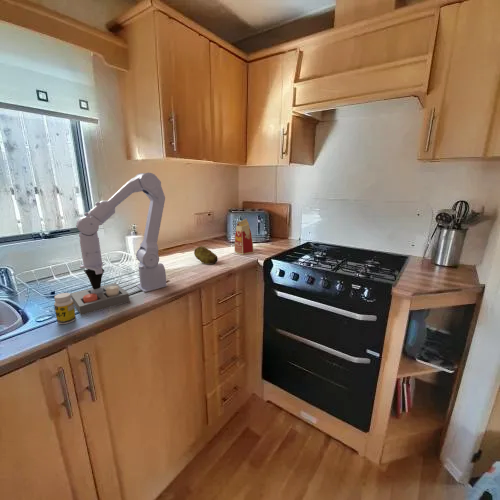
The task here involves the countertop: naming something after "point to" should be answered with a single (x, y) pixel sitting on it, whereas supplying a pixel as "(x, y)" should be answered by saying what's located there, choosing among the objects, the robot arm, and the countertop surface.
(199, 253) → the olive green oval lump
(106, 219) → the robot arm
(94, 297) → the button red
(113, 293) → the button ivory
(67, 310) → the supplement bottle
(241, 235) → the milk carton
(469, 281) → the countertop surface
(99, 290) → the button slate
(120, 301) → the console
